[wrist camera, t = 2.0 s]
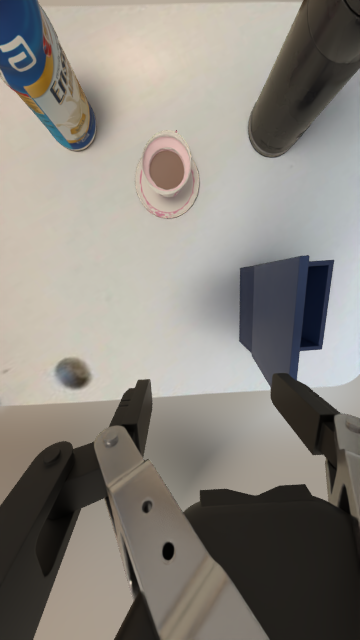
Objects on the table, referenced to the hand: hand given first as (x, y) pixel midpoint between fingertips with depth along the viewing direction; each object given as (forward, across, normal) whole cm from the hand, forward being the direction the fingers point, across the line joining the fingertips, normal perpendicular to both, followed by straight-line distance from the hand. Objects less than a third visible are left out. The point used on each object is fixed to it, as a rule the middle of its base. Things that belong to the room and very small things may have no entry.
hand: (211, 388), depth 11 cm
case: (+28, -19, -1) cm, 34 cm away
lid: (+13, -11, 0) cm, 17 cm away
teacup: (+28, +3, -25) cm, 38 cm away
